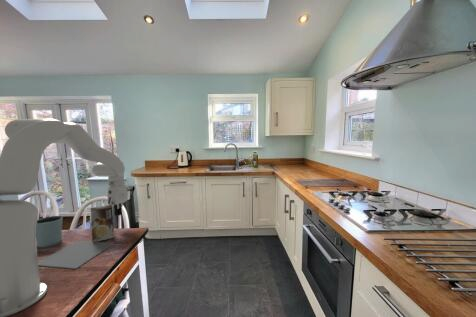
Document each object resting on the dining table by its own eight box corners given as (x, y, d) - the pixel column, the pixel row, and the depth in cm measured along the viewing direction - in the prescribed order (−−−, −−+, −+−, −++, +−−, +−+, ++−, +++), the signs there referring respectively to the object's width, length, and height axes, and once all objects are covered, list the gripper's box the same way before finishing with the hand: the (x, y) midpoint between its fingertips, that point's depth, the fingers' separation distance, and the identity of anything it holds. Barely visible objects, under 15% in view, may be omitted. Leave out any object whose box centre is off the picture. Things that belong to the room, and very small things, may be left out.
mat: (76, 269, 73) (76, 268, 73) (32, 265, 76) (32, 264, 76) (114, 243, 92) (114, 243, 92) (78, 241, 95) (78, 240, 95)
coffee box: (112, 233, 103) (112, 204, 102) (114, 237, 98) (113, 207, 97) (91, 238, 97) (90, 207, 97) (91, 243, 92) (90, 210, 92)
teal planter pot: (32, 245, 92) (30, 221, 91) (59, 236, 101) (57, 214, 100) (40, 250, 87) (38, 225, 86) (68, 240, 96) (66, 217, 95)
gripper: (112, 186, 99) (114, 220, 100) (131, 180, 114) (133, 210, 115) (99, 185, 100) (101, 219, 101) (120, 180, 115) (122, 210, 116)
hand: (118, 214), depth 108 cm, fingers closed
